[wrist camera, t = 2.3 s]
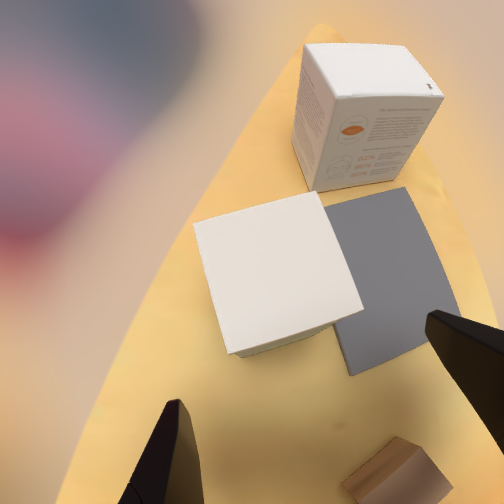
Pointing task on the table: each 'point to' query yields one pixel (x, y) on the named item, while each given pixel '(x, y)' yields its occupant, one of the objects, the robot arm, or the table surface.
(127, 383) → the table surface
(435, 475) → the walnut block
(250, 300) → the tea tin
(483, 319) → the table surface
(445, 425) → the table surface
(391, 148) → the small box
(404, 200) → the felt coaster
